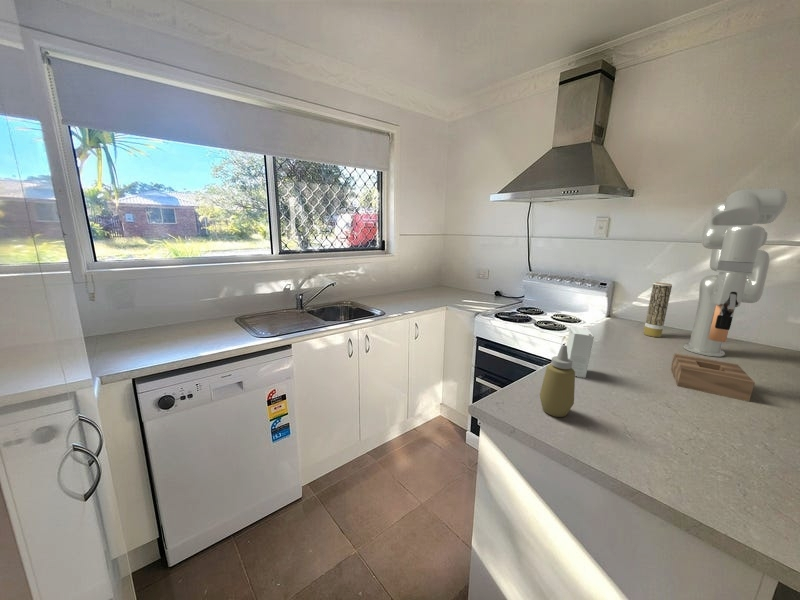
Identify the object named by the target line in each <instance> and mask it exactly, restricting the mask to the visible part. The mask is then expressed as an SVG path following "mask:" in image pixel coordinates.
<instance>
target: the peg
mask: <svg viewBox="0 0 800 600" xmlns="http://www.w3.org/2000/svg"><path fill="white" fill-rule="evenodd" d="M724 305H725V306H728V304H725V303H724ZM720 309H721V304H720V305H716V308H715V312H714V316H713V320H712V324H711V328H710V332H709V337H708V339H710V340H713V341H718V342H722V343H726V341H727V339H728V335H729V331H730V329H729V330H725V329H718V328H715V324H716V320H717V316H718V315H719V314H720ZM724 309H725V308H724Z"/></svg>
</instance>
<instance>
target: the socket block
mask: <svg viewBox="0 0 800 600" xmlns="http://www.w3.org/2000/svg"><path fill="white" fill-rule="evenodd" d="M670 371H671V374H672V377H673V379H674V381H675V383H676V385H677V386H678V387H682V388H685V389H690V390H695V391H699V392H704V393H709V394H713V395H718V396H723V397H727V398H731V399H734V400H740V401H744V400H745V402H750V401H751V396H752V393H753V388H754V387H755V381H754V380H753V379H752V378H751V377H750V376H749V374H747V373H746V371H745V370H743V368H742V367H741V366H740V365H739V364H738V363H731V362H725V361H720V360H715V359H709V358H704V357H698V356H692V355H688V354H681V353H677V352H676V353H675V352H674V353H673V357H672V362H671V366H670Z"/></svg>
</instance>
